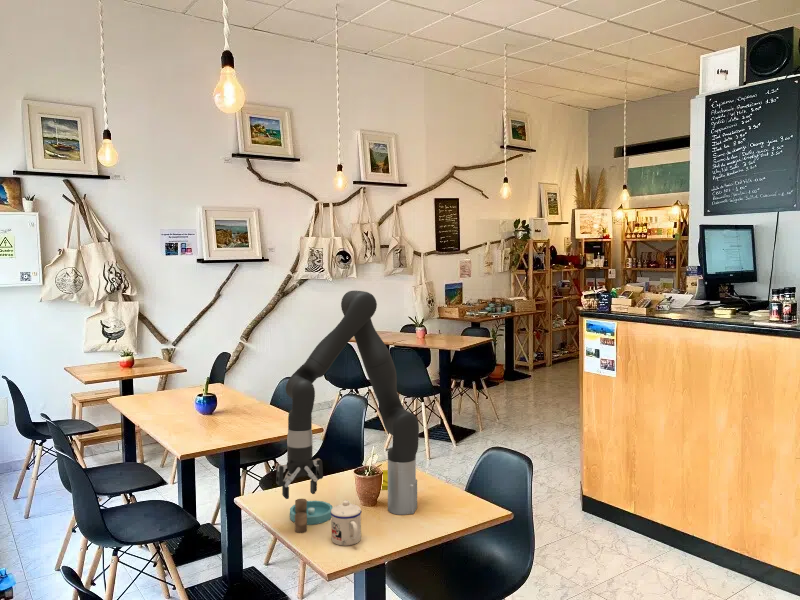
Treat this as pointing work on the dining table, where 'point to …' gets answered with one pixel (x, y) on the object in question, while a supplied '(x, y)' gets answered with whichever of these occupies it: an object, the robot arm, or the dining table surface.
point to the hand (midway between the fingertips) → (299, 495)
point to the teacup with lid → (346, 524)
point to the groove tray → (315, 512)
